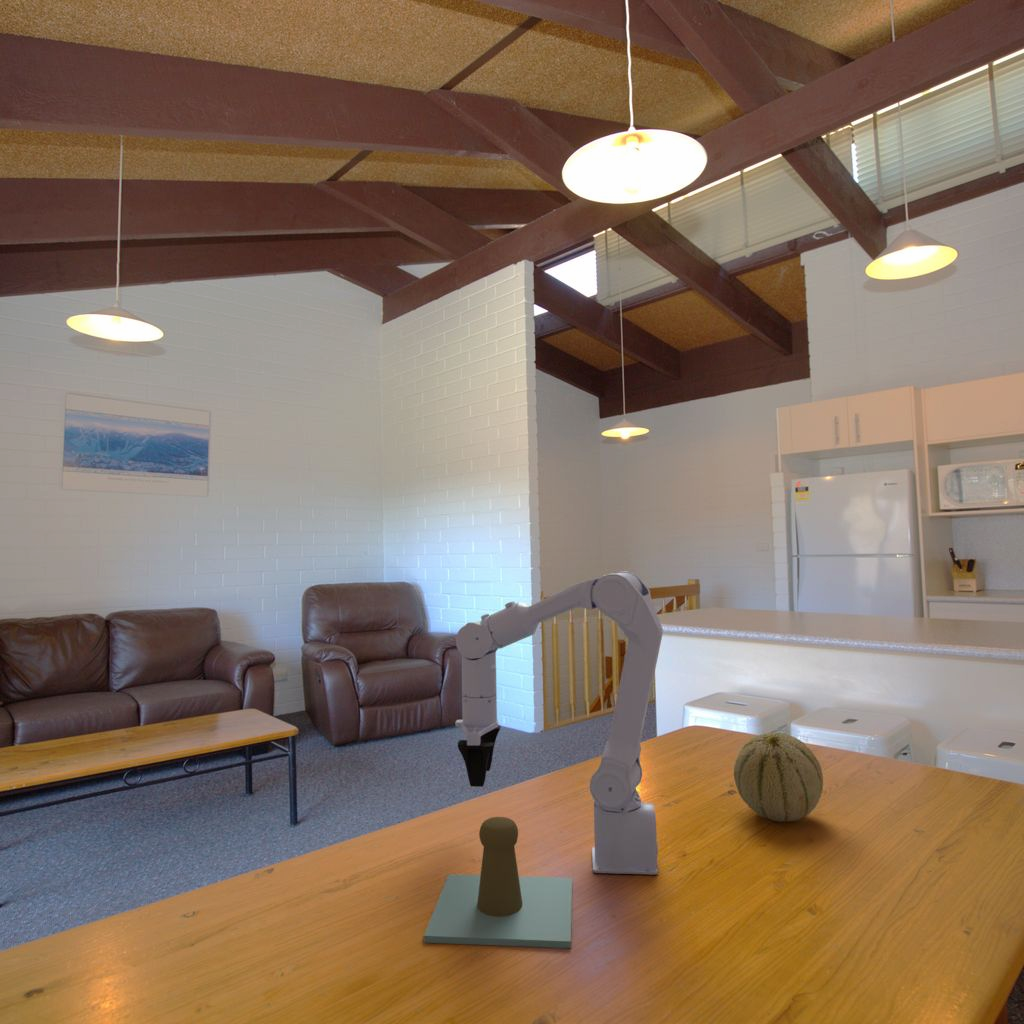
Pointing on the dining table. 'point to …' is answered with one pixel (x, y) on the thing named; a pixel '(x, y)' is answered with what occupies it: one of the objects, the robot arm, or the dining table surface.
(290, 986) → the dining table surface
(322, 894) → the dining table surface
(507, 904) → the olive game pawn
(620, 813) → the robot arm
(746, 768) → the cantaloupe
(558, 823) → the dining table surface
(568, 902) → the teal board
